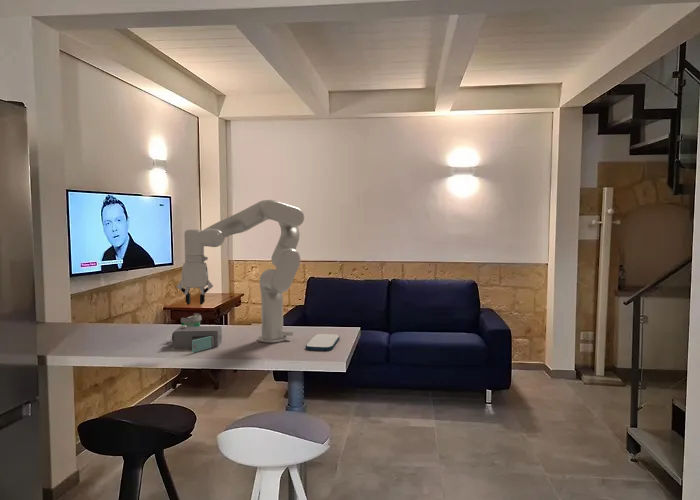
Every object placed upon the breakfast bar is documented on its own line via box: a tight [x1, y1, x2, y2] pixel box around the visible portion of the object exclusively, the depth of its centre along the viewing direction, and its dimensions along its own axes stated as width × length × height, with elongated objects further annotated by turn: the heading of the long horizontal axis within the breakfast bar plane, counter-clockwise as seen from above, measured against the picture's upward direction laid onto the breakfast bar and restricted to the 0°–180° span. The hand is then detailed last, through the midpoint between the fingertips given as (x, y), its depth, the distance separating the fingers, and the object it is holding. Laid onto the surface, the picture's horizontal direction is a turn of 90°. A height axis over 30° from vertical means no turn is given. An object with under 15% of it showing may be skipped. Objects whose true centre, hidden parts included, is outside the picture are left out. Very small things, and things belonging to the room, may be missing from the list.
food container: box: [180, 312, 203, 327], centre depth 229 cm, size 12×6×10 cm, turn 168°
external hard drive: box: [305, 333, 341, 352], centre depth 218 cm, size 24×12×2 cm, turn 172°
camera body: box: [171, 324, 223, 349], centre depth 215 cm, size 20×10×8 cm, turn 94°
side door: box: [191, 336, 215, 353], centre depth 206 cm, size 10×2×5 cm, turn 144°
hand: (195, 303), depth 206 cm, fingers open, 4 cm apart
